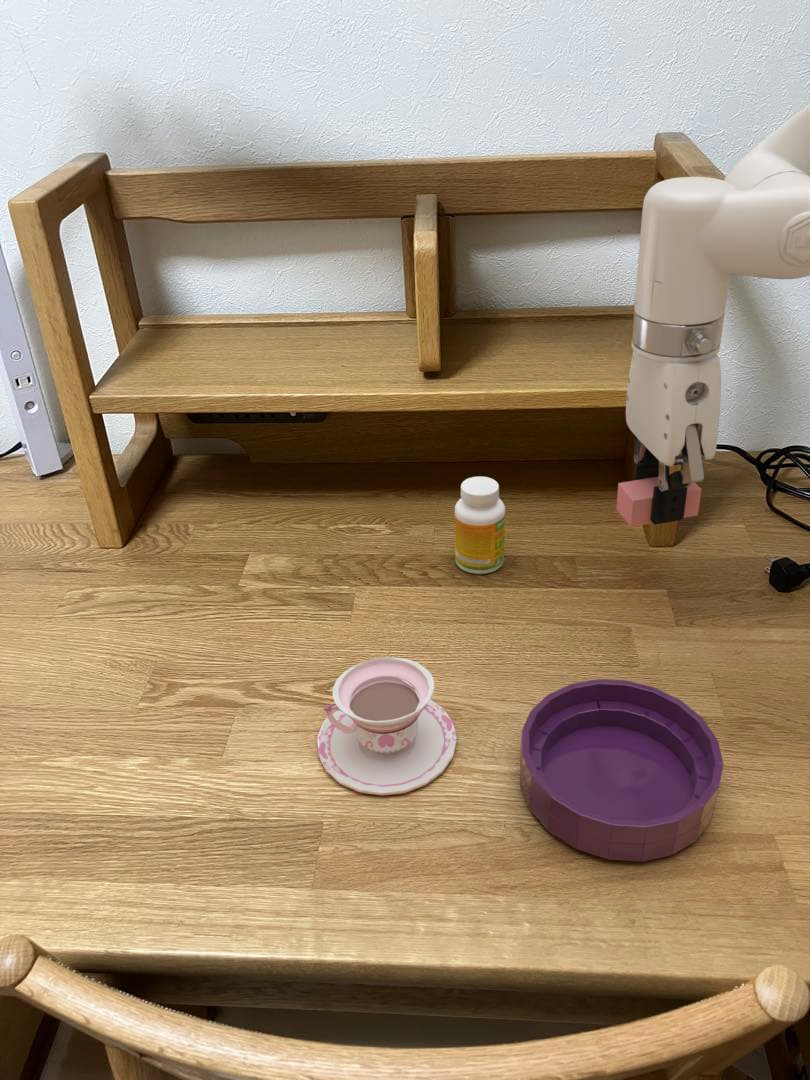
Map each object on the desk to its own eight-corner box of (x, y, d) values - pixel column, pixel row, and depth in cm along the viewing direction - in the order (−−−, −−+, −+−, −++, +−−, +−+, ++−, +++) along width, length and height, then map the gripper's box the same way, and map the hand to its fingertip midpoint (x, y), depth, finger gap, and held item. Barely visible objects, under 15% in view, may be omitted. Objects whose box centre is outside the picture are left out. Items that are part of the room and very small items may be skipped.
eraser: (681, 497, 90) (685, 471, 89) (698, 515, 87) (701, 489, 86) (616, 508, 89) (618, 482, 88) (630, 527, 87) (632, 500, 85)
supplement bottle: (502, 577, 96) (504, 499, 91) (452, 574, 97) (451, 497, 92) (505, 549, 101) (507, 473, 95) (457, 546, 102) (457, 471, 96)
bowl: (661, 704, 80) (667, 666, 77) (750, 843, 67) (761, 803, 65) (496, 734, 77) (497, 696, 75) (557, 884, 65) (561, 845, 62)
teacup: (433, 682, 83) (432, 630, 80) (475, 778, 73) (476, 724, 70) (306, 710, 81) (299, 657, 77) (332, 812, 71) (325, 758, 68)
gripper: (767, 360, 72) (734, 549, 82) (674, 296, 85) (656, 464, 96) (679, 373, 71) (657, 562, 81) (599, 306, 84) (589, 475, 95)
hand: (657, 508), depth 88 cm, fingers closed on eraser, 3 cm apart
